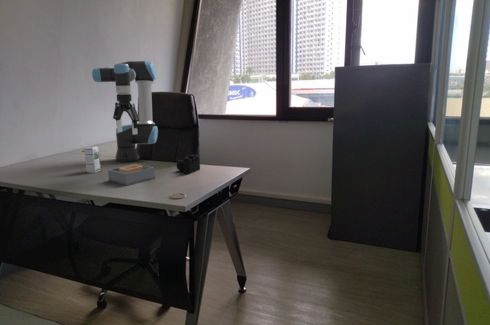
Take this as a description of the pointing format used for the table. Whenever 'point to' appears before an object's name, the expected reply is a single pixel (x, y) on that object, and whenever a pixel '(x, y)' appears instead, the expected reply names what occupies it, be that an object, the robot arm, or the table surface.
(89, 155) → the syrup box
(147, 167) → the large crate
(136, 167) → the small crate
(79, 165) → the table surface
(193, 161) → the camera
